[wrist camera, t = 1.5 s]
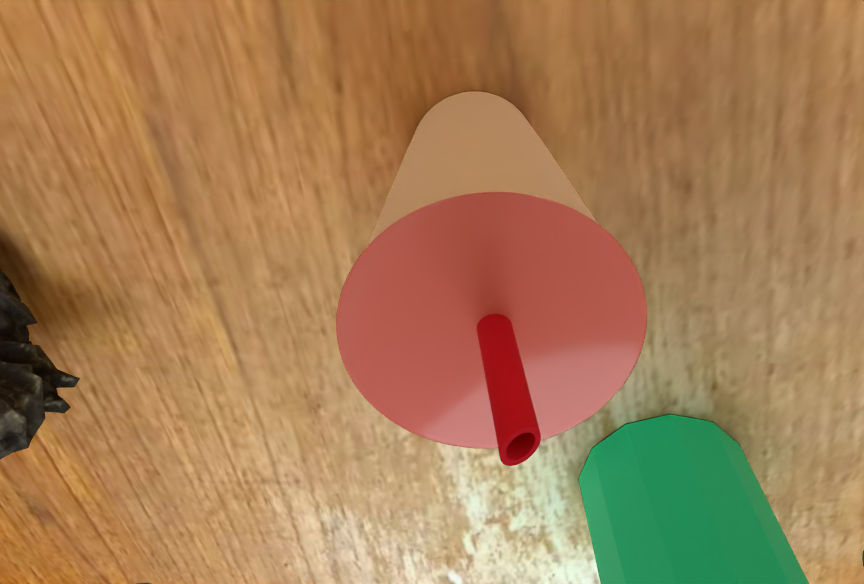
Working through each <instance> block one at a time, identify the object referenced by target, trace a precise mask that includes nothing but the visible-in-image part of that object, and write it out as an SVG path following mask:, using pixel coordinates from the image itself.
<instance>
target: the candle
mask: <svg viewBox="0 0 864 584" xmlns="http://www.w3.org/2000/svg"><path fill="white" fill-rule="evenodd" d="M578 480H579V484H580V489H581V494H582V498H583V503H584V507H585V512H586V517H587V521H588V526H589V531H590V535H591V540H592V544H593V549H594V554H595V558H596V563H597V568H598V572H599V577H600V582H601V584H809V583H808V581H807V579H806V577H805V575H804V573H803V571H802V569H801V567H800V565H799V563H798V561H797V559H796V557H795V555H794V553H793V551H792V549H791V547H790V545H789V543H788V541H787V539H786V537H785V535H784V533H783V531H782V529H781V527H780V525H779V523H778V521H777V519H776V517H775V515H774V513H773V511H772V509H771V507H770V505H769V503H768V501H767V499H766V497H765V495H764V493H763V491H762V489H761V487H760V485H759V483H758V481H757V479H756V477H755V475H754V473H753V471H752V469H751V467H750V465H749V463H748V461H747V459H746V457H745V455H744V453H743V451H742V449H741V447H740V445H739V444H738V443H737V442H736V441H735V440H734V439H732V438H731V437H730V436H729V435H728V434H727V433H725V432H724V431H723V430H722V429H721V428H719V427H718V426H717V425H716V424H715V423H713V422H711V421H706V420H700V419H694V418H689V417H683V416H677V415H672V414H669V415H665V416H660V417H656V418H652V419H647V420H643V421H638V422H634V423H630V424H625V425H624V426H623V427H621V428H620V429H618V430H617V431H616V432H614V433H613V434H612V435H610V436H609V437H607V438H606V439H605V440H603V441H602V442H600V443H599V444H598V445H596V446H595V447H594V448H592V450H591V452H590V454H589V456H588V459H587V461H586V463H585V465H584V468H583V470H582V472H581V474H580V477H579V479H578Z"/></svg>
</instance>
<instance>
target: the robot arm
mask: <svg viewBox="0 0 864 584" xmlns="http://www.w3.org/2000/svg"><path fill="white" fill-rule="evenodd" d="M862 559H863V566H864V551H863V557H862ZM138 584H151V583H138Z"/></svg>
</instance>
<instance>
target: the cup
mask: <svg viewBox="0 0 864 584" xmlns="http://www.w3.org/2000/svg"><path fill="white" fill-rule="evenodd" d="M646 326H647V306H646V298H645V293H644V289H643V285H642V282H641V279H640V277H639V274H638V272H637V270H636V268H635V266H634V264H633V262H632V261H631V259H630V257H629V256H628V254H627V253H626V251H625V250H624V249H623V248H622V246H621V245H620V244H619V243H618V242H617V240H616V239H615V238H614V237H613V236H612V235H611V234H610V233H608V232H607V231H606V230H605V229H604V228H603V227H601V226H600V225H599V224H598V223H597V222H596V220H595V219H594V217H593V216H592V214H591V213H590V211H589V210H588V208H587V207H586V205H585V204H584V202H583V201H582V199H581V198H580V196H579V195H578V193H577V192H576V190H575V189H574V187H573V186H572V184H571V183H570V181H569V180H568V178H567V177H566V175H565V174H564V172H563V171H562V170H561V168H560V167H559V165H558V164H557V162H556V161H555V159H554V158H553V156H552V155H551V153H550V152H549V150H548V149H547V147H546V146H545V145H544V143H543V142H542V140H541V139H540V137H539V136H538V134H537V133H536V132H535V130H534V129H533V128H532V127H531V125H530V124H529V122H528V121H527V120H526V118H525V117H524V115H523V114H522V113H521V112H520V111H519V109H518V108H516V107H515V106H514V105H513V104H512V103H510V102H509V101H507V100H506V99H504V98H502V97H499V96H497V95H494V94H491V93H486V92H477V91H473V92H463V93H459V94H455V95H452V96H450V97H447V98H445V99H444V100H442V101H440V102H439V103H437V104H436V105H435V106H433V107H432V108H431V109H430V110H429V111H428V112H427V113H426V114H425V116H424V117H423V118H422V120H421V121H420V123H419V125H418V127H417V129H416V131H415V134H414V136H413V138H412V141H411V142H410V144H409V146H408V149H407V151H406V153H405V156H404V158H403V161H402V163H401V165H400V168H399V170H398V173H397V175H396V177H395V180H394V182H393V185H392V187H391V189H390V192H389V194H388V197H387V199H386V202H385V204H384V206H383V209H382V211H381V214H380V216H379V219H378V221H377V223H376V226H375V228H374V231H373V233H372V236H371V238H370V241H369V244H368V246H367V248H366V249H365V250H364V251H363V252H362V254H361V255H360V256H359V258H358V259H357V261H356V262H355V264H354V265H353V267H352V269H351V271H350V272H349V274H348V276H347V279H346V281H345V283H344V286H343V288H342V291H341V295H340V299H339V303H338V309H337V318H336V330H337V340H338V346H339V350H340V354H341V357H342V360H343V363H344V365H345V368H346V370H347V372H348V374H349V376H350V378H351V379H352V381H353V383H354V384H355V386H356V387H357V388H358V390H359V391H360V392H361V394H362V395H363V396H364V397H365V398H366V400H367V401H368V402H369V403H370V404H371V405H372V406H373V407H374V408H375V409H377V410H378V411H379V412H380V413H381V414H383V415H384V416H385V417H387V418H388V419H389V420H391V421H392V422H394V423H395V424H397V425H399V426H400V427H402V428H404V429H406V430H408V431H410V432H412V433H414V434H417V435H419V436H421V437H424V438H427V439H430V440H433V441H436V442H440V443H444V444H448V445H453V446H459V447H467V448H484V449H489V448H498V449H499V454H500V459H501V461H502V463H503V464H505V465H509V466H512V465H517V464H520V463H522V462H524V461H525V460H527V459H528V458H529V457H530V456H531V455H532V454H533V453H534V452H535V451H536V449H537V448H538V446H539V444H540V441H541V440H544V439H547V438H550V437H553V436H555V435H558V434H560V433H562V432H564V431H567V430H569V429H571V428H573V427H574V426H576V425H578V424H580V423H581V422H583V421H584V420H586V419H588V418H589V417H590V416H592V415H593V414H595V413H596V412H597V411H598V410H600V409H601V408H602V407H603V406H604V405H605V404H606V403H607V402H609V401H610V400H611V399H612V397H613V396H614V395H615V394H616V393H617V392H618V391H619V390H620V388H621V387H622V386H623V384H624V383H625V382H626V380H627V379H628V377H629V376H630V374H631V372H632V370H633V369H634V367H635V365H636V363H637V360H638V358H639V356H640V353H641V350H642V347H643V343H644V339H645V334H646Z"/></svg>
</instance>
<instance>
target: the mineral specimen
mask: <svg viewBox="0 0 864 584" xmlns="http://www.w3.org/2000/svg"><path fill="white" fill-rule="evenodd" d="M34 323H37V321H36V320H35V318H34V316H33V315H32V313H31V311H30V310H29V308H28V307H27V306H26V305H25V304H24V303H23V302H21V299H20V297H19V295H18V294H17V292H16V290H15V288H14V286H13V284H12V283H11V281H10V280H9V279H8V278H7V277H6V276H5V274H4V273H3V272H2V271H1V270H0V459H1V458H3V457H5V456H7V455H9V454H11V453H13V452H16V451H19V450H22V449H26V448H28V447H29V445H30V442H31V440H32V438H33V436H34V435H35V433H36V432H37V430H38V429H39V427H40V426H41V424H42V423H43V421H44V419H45V412H58V413H65V412H66V411H67V410H68V409H69V408H70V406H69V405H68V404H67V403H66V402H65V400H63V399H62V398H61V397H60V396H58V393H57V389H56V388H59V387H75V385H76V384H77V382H78V380H79V379H80V378H77V377H75V376H72V375H70V374H67V373H65V372H62V371H60V370H58V369H57V368H56V367H55V366H54V364H53V363H52V362H51V360H50V359H49V358H48V356H47V355H46V354H45V353H44V351H43V350H42V349H41V347H40V346H39V345H33V344H32V342H31V341H29V331H28V328H27V325H30V324H34Z"/></svg>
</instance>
